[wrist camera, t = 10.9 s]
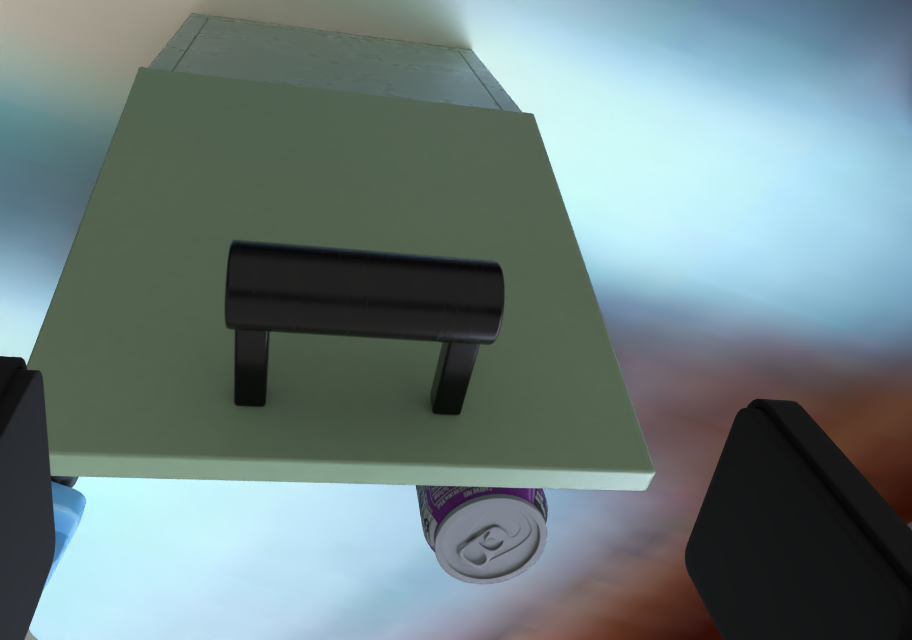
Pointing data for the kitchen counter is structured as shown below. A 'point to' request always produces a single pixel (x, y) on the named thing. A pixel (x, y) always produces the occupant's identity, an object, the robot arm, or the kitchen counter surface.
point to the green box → (331, 62)
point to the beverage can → (484, 530)
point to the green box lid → (330, 300)
